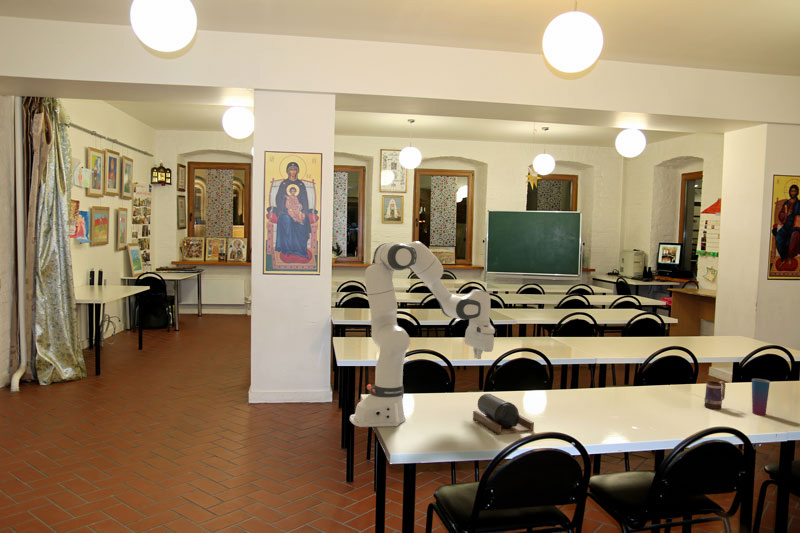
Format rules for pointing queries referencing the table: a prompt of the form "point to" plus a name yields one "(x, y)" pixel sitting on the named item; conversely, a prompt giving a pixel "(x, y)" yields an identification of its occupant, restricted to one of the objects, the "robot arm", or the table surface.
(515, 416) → the water bottle
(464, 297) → the robot arm
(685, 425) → the table surface
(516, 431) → the cradle
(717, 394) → the mug
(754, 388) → the cup
